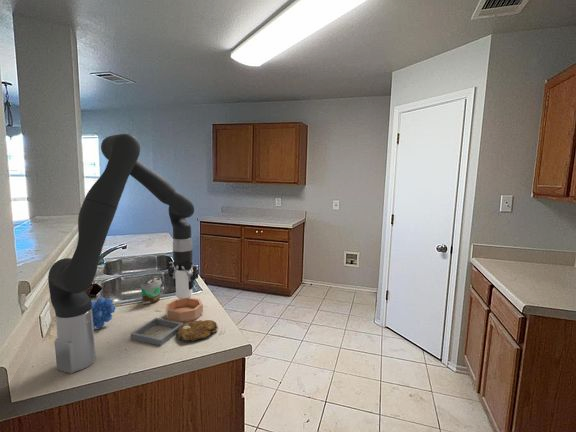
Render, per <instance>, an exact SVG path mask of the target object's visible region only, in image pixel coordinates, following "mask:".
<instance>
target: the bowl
mask: <svg viewBox="0 0 576 432" xmlns="http://www.w3.org/2000/svg"><path fill="white" fill-rule="evenodd" d="M203 306H204V304H203V302H202V300H201V299H200V298H195V297H190V298H187V299H179V298H175V299H172V300H171V301H170V302H168V303H166V304H165V314H166V320H170V321H175V322H181V323H184V324H185V323H188V322H192V321H196V320H197V319H199V318H200V317H201V316H202V315H203V314H202V313H204V307H203Z"/></svg>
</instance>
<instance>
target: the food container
mask: <svg viewBox="0 0 576 432" xmlns="http://www.w3.org/2000/svg"><path fill="white" fill-rule="evenodd" d="M162 284H163V283H162V279H161V277H159V276H157V275H152V277H151V279H150V280H147V281H146V282H145V283H144V284H140V285H141V286H140V290H141V295H142V296H141V297H142V305H143V306H148V305H149V306H150V305H154V304H156V303H158V302H159V301H160V300H161V299H160V296H161V285H162Z"/></svg>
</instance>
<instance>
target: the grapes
mask: <svg viewBox="0 0 576 432" xmlns="http://www.w3.org/2000/svg"><path fill="white" fill-rule="evenodd" d="M91 302H92V314H93V329H97V330H98V329H102V328H103V327H104V326H105V323H109V322H110V321H111V320H112V318H113V315H112V314H113V313H115V310H116V306H115V305H114V304H113V303H114V302H113V299H112V298H108V299H106V298H105V297H103V296H102V297H99V298H98V299H97V300H96V301H95V300H94V301H91Z"/></svg>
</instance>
